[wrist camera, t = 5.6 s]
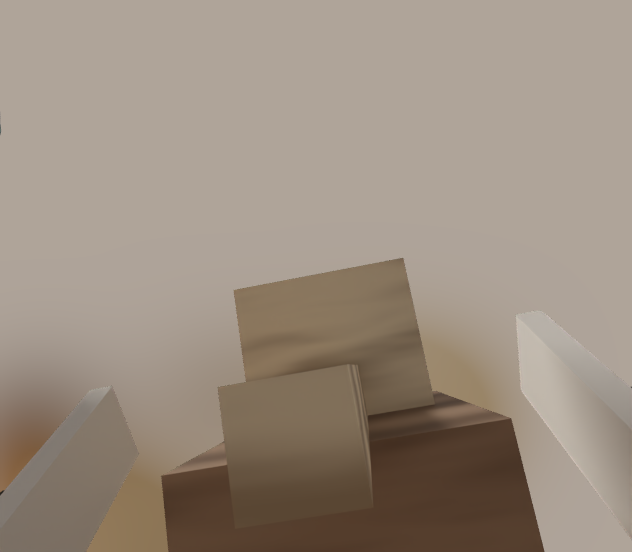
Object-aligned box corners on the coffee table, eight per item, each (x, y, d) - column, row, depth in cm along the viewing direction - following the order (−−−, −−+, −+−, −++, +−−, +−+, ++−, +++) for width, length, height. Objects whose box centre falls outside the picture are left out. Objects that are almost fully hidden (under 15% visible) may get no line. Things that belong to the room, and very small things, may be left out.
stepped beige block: (567, 477, 9) (463, 89, 11) (59, 555, 10) (40, 179, 12) (420, 396, 34) (395, 278, 36) (275, 420, 35) (258, 304, 36)
